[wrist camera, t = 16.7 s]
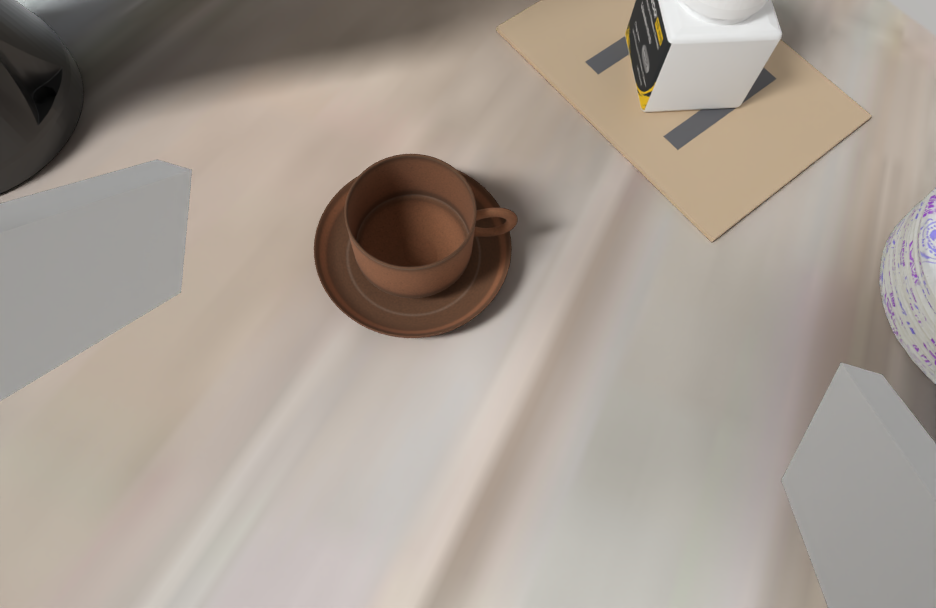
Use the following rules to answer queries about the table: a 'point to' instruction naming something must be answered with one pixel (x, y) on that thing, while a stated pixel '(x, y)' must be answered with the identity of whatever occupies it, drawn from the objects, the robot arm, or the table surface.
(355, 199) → the cup and saucer
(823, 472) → the robot arm
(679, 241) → the table surface
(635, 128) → the letter card
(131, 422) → the table surface
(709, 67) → the medicine bottle
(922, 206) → the paper bowls
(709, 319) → the table surface
